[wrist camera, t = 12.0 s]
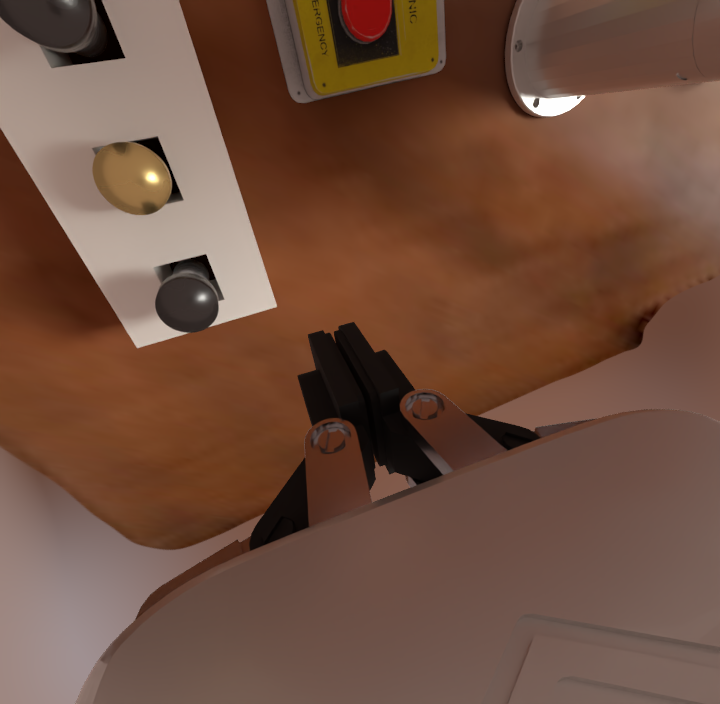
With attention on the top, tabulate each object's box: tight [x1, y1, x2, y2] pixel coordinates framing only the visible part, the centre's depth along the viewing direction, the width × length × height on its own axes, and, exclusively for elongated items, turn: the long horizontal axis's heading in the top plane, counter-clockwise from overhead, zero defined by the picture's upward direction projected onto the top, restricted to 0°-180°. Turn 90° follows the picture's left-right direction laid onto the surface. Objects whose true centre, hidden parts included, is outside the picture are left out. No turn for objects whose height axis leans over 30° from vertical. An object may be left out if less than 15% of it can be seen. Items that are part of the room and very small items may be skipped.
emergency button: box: [266, 0, 446, 103], centre depth 27 cm, size 9×4×15 cm
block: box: [0, 0, 277, 348], centre depth 26 cm, size 12×24×6 cm, turn 9°
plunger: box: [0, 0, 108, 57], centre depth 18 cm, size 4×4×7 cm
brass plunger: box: [92, 142, 172, 215], centre depth 24 cm, size 4×4×7 cm
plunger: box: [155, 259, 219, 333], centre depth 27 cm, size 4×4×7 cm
